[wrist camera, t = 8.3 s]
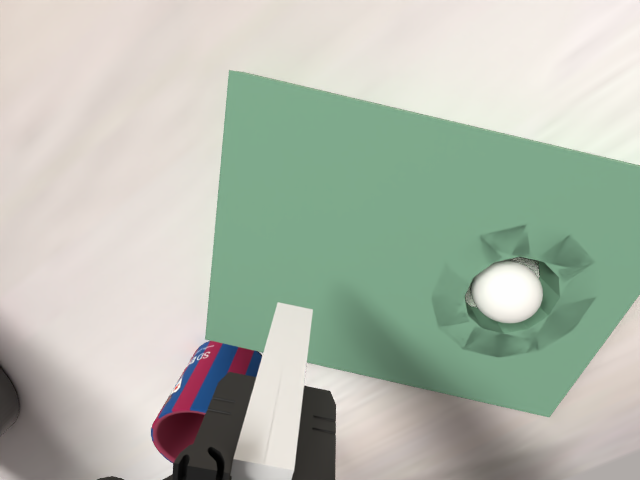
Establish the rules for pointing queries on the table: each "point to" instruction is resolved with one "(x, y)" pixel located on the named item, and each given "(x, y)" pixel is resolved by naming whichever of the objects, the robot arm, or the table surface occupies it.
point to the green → (416, 242)
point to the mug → (198, 394)
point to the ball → (507, 292)
